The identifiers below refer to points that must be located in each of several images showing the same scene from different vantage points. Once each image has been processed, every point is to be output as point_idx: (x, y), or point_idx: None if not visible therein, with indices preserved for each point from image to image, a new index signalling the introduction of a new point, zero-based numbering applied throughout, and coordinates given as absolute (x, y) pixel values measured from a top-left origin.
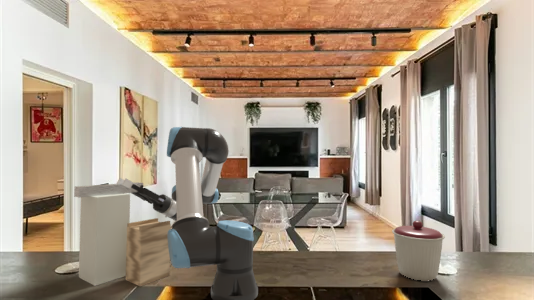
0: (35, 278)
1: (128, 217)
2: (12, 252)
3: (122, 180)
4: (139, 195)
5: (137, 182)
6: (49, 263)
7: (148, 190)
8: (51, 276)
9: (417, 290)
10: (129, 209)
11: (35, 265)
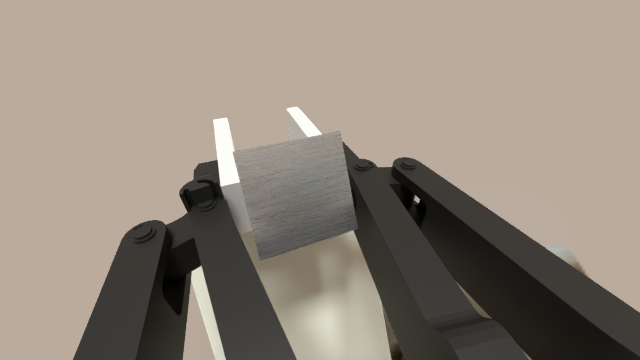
0: (385, 312)
1: (215, 351)
2: (563, 249)
3: (291, 123)
4: (377, 286)
5: (329, 133)
6: (484, 313)
7: (113, 280)
8: (387, 332)
9: None
10: (202, 314)
11: (469, 295)
